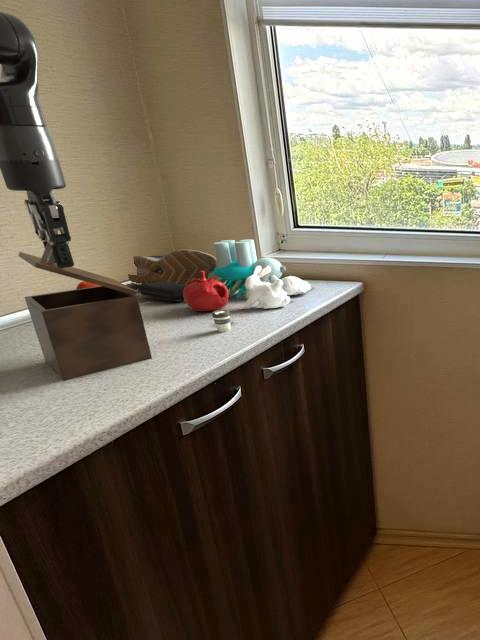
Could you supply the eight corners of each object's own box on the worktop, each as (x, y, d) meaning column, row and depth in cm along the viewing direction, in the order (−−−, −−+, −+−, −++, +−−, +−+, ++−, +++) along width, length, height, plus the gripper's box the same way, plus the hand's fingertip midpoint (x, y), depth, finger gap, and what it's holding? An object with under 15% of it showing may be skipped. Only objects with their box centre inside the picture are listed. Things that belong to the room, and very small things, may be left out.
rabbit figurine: (237, 309, 126) (230, 270, 122) (250, 301, 133) (243, 263, 129) (287, 309, 126) (281, 270, 122) (297, 301, 133) (291, 263, 129)
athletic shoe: (201, 247, 139) (231, 245, 150) (115, 254, 145) (149, 251, 156) (210, 288, 142) (238, 283, 153) (125, 293, 148) (158, 287, 159)
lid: (35, 267, 80) (46, 234, 80) (18, 255, 88) (28, 226, 88) (135, 295, 92) (146, 267, 92) (113, 283, 99) (122, 257, 99)
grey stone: (286, 290, 143) (284, 272, 141) (314, 290, 143) (312, 273, 141) (272, 298, 135) (269, 279, 133) (302, 298, 135) (299, 280, 133)
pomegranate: (185, 316, 120) (176, 277, 117) (188, 305, 129) (179, 268, 125) (231, 311, 124) (224, 273, 121) (231, 301, 133) (224, 265, 129)
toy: (290, 237, 141) (297, 291, 146) (208, 238, 139) (218, 293, 144) (278, 243, 130) (286, 301, 135) (189, 245, 128) (200, 303, 133)
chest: (64, 384, 87) (41, 311, 82) (46, 364, 95) (24, 296, 90) (152, 362, 97) (137, 295, 92) (130, 345, 104) (114, 283, 99)
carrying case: (170, 279, 143) (209, 286, 138) (171, 290, 144) (210, 297, 139) (133, 283, 134) (172, 290, 129) (134, 294, 135) (173, 302, 129)
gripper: (-12, 157, 83) (25, 262, 89) (5, 158, 74) (44, 275, 81) (46, 156, 88) (77, 255, 94) (69, 158, 79) (100, 267, 86)
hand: (61, 264), depth 87 cm, fingers closed on lid, 5 cm apart
